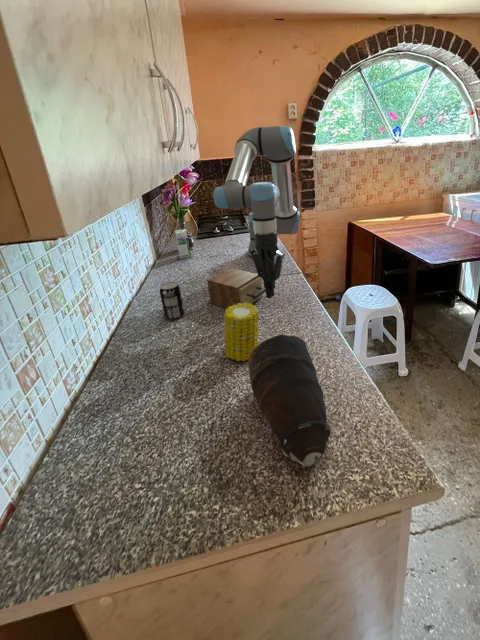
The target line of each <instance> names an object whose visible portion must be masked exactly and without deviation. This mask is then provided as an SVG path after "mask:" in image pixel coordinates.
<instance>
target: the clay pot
mask: <svg viewBox="0 0 480 640" xmlns="http://www.w3.org/2000/svg"><path fill="white" fill-rule="evenodd" d="M247 367H248V371H249V373H248V374H249V380H250V385H251V391H252V393H253V395H254V397H255V399H256V402H257V403H258V406H259V409H260V411H261V413H262V415H263V418H264V419H265V421H266V422H267V424H268V425H269V427H270V428H271V430H272V432H273V434H274V436H275V438H276V439H277V441H278V442H279V444H280V450H281V452H282V454H283V457H287V458H288V459H290V460H292V461H293V462H296V463H298V464H300V465H301V466H303V467H312V466H313V465H314V464H315V463H317V462H318V461H319V460H320V459H322V458H323V455H324V453H325V451H326V448H327V444H328V441H329V439H330V436H331V431H332V430H331V426H330V425H329V424H328V421H327V420H328V419H327V417H328V416H327V407H326V404H325V400H324V391H323V388H322V387H321V384H320V381H319V379H318V377H317V371H316V367H315V365H314V362H313V359H312V357H311V354H310V353H309V349H308V346H307V343H306V342H305V340H304V339H303V338H301V337H300V336H299V335H293V334H292V335H289V334H283V333H282V334H281V333H278V334H275V335H273V336H271V337H269V338H266V339H263V340H262V342H258V344H257V346H256V347H255V348H254V349H253V350H252V352H251V354H250V356H249V360H248V359H247Z"/></svg>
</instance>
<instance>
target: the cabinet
mask: <svg viewBox="0 0 480 640" xmlns="http://www.w3.org/2000/svg"><path fill="white" fill-rule="evenodd" d="M256 278H258V274H257V273H254V272H250V271H245V270H241V269H236V268H232V267H229V268H227V269H225V270H223V271H221V272H219V273H217V274H215V275H213V276H212V277H210V278H208V279H206V282H207V289H208V297H209V302H210V304H213V305H215V306H216V305H217V306H220V307H222V308H226V309H227V308H228V307H230V306H233V305H237V304H238V303H240V298H239V288H241V287H243V286H244V285H246V284H248V283H249V282H251V281H252V280H255V279H256Z"/></svg>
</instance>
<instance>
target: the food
mask: <svg viewBox="0 0 480 640" xmlns="http://www.w3.org/2000/svg"><path fill="white" fill-rule="evenodd" d="M223 316H224V317H223V320H224V324H223V325H224V327H223V330H224V333H223V337H224V341H223V343H224V352H225V356H226V357H227V359H231V360H233V361H235V362H240V361H241V362H246V361H248V360H249V356H250V354H251V352H252V350H253V349H254V348H255V347H256V346H257V345H258V344H259V328H260V327H259V324H260V323H259V318H260V317H259V309H258V308H257V307H256V305H254V304H253V303H252V304H251V303H248V304H247V303H246V302H245V303H242V304H240V303H238V304H237V305H233V306H230V307H228V308H226V309H225V312H224V314H223Z"/></svg>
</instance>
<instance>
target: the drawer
mask: <svg viewBox="0 0 480 640" xmlns="http://www.w3.org/2000/svg"><path fill="white" fill-rule="evenodd" d="M265 293H266V288H264V287H262V278H261V277H258V278H256V279H255V280H252V281H251V282H249V283H248V284H246V285H245V286H243V287H242V288H240V289H239V298H240V304H242V303H245V302H246V303H247V304H248V303H251V304H252V305H253V304H254V303H255V302H257V300H259V299H261V298H262V297H263V295H264V294H265Z"/></svg>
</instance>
